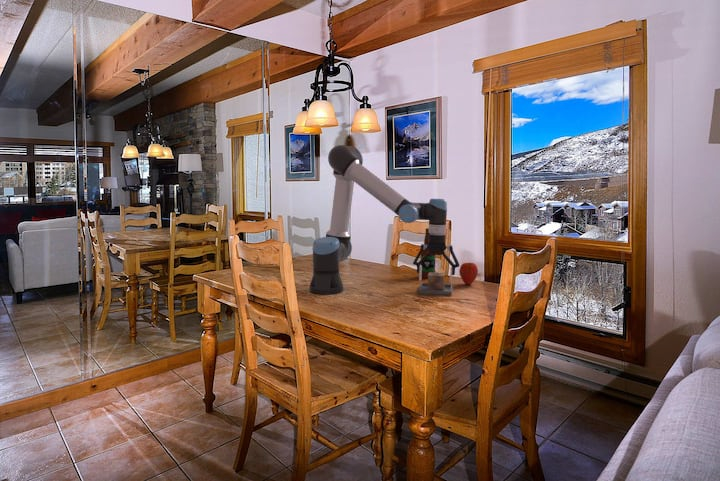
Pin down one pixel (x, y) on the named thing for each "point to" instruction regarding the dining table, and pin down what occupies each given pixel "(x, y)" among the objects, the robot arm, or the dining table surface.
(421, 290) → the slate tray
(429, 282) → the walnut cube
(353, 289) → the dining table surface
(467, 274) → the apple
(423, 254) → the bottle
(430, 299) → the dining table surface
